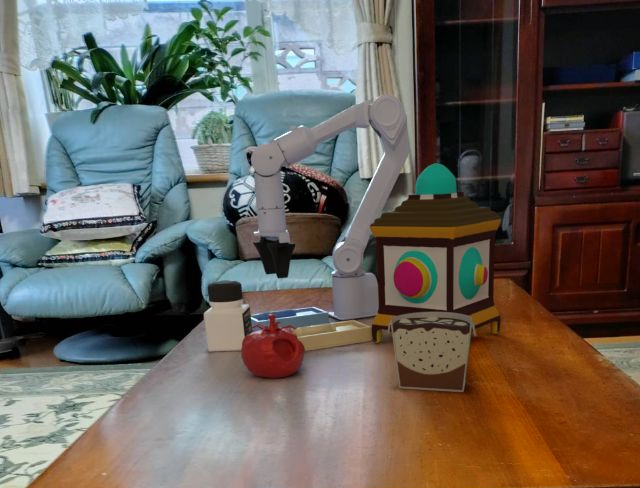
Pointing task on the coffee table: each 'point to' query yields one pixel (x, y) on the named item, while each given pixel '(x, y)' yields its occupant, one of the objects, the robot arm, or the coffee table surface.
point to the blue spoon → (282, 314)
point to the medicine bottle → (226, 316)
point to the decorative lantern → (436, 254)
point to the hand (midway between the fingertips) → (276, 275)
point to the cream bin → (337, 336)
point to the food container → (432, 350)
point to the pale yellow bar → (320, 329)
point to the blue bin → (295, 319)
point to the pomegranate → (272, 351)
